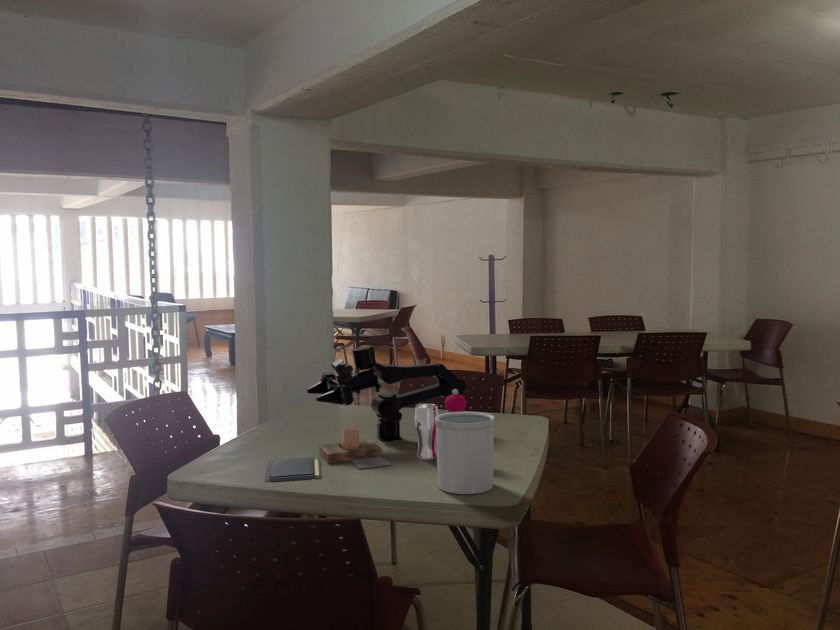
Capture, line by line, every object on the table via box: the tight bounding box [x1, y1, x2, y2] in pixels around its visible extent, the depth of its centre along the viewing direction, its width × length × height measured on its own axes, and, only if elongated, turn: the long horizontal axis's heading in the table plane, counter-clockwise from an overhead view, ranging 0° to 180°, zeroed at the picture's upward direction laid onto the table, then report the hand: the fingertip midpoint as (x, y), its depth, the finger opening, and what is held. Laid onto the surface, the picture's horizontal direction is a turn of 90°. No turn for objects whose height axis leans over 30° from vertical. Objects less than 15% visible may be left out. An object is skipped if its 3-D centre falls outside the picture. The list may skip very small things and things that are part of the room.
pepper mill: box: [444, 389, 467, 413], centre depth 198 cm, size 7×7×20 cm
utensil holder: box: [435, 411, 496, 495], centre depth 173 cm, size 15×15×18 cm
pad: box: [350, 456, 391, 470], centre depth 196 cm, size 9×9×1 cm
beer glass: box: [413, 403, 439, 461], centre depth 201 cm, size 7×7×15 cm
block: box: [339, 426, 360, 450], centre depth 204 cm, size 4×4×8 cm
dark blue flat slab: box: [264, 457, 323, 483], centre depth 191 cm, size 20×2×15 cm
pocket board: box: [318, 439, 383, 464], centre depth 204 cm, size 16×11×3 cm
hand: (311, 395), depth 212 cm, fingers open, 9 cm apart
